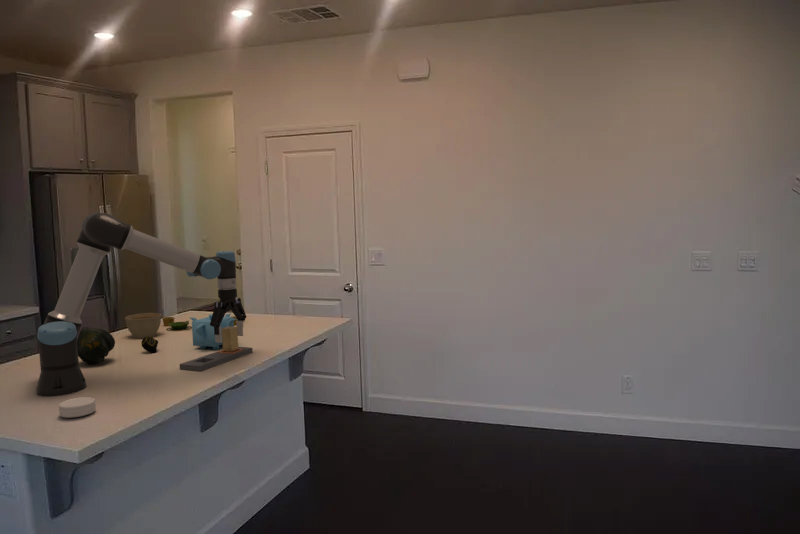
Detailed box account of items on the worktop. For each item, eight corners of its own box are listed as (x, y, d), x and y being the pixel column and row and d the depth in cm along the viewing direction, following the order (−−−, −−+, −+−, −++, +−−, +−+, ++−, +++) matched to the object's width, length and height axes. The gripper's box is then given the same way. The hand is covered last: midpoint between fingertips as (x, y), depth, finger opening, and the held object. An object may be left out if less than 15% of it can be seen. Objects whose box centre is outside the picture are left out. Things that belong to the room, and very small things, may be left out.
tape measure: (152, 355, 263) (157, 350, 262) (138, 348, 260) (143, 342, 259) (155, 346, 269) (160, 340, 268) (141, 338, 265) (146, 333, 264)
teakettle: (196, 353, 260) (194, 319, 258) (190, 345, 277) (188, 313, 275) (240, 348, 268) (239, 315, 267) (232, 340, 285) (230, 309, 284)
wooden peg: (231, 357, 250) (230, 328, 249) (223, 356, 252) (221, 328, 251) (238, 355, 254) (237, 326, 253) (230, 354, 256) (228, 326, 255)
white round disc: (58, 411, 187) (57, 400, 187) (94, 405, 192) (93, 394, 192) (59, 420, 178) (59, 408, 178) (97, 413, 183) (96, 402, 183)
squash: (75, 369, 238) (72, 331, 236) (79, 361, 251) (76, 325, 250) (114, 365, 243) (112, 328, 242) (117, 357, 257) (114, 322, 255)
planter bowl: (123, 337, 298) (121, 315, 297) (157, 333, 308) (155, 311, 307) (131, 342, 285) (129, 320, 284) (166, 337, 295) (165, 315, 294)
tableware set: (153, 334, 307) (152, 322, 306) (169, 324, 334) (169, 313, 334) (235, 331, 310) (235, 319, 309) (245, 321, 337) (245, 310, 337)
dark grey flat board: (200, 371, 230) (199, 365, 229) (179, 369, 234) (179, 363, 233) (252, 352, 259) (252, 347, 258) (233, 350, 263) (233, 345, 262)
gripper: (214, 292, 238) (216, 345, 240) (253, 285, 261) (255, 333, 263) (199, 292, 241) (201, 344, 243) (239, 284, 264) (241, 332, 266)
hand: (229, 339), depth 253 cm, fingers open, 13 cm apart
